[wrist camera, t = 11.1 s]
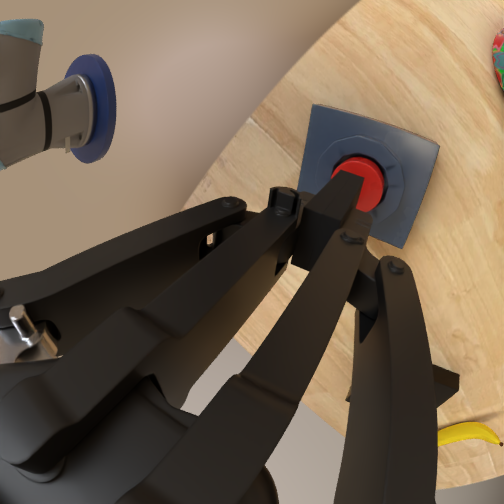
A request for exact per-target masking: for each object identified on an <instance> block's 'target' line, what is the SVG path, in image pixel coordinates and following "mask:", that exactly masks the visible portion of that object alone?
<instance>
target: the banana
mask: <svg viewBox="0 0 504 504" xmlns="http://www.w3.org/2000/svg"><path fill="white" fill-rule="evenodd" d="M473 438H474V439H482V440H485V441H487V442H490V443H493V444H499V445H500V446H503V443H502V442H500V440H499V437H498V436H497V435H496V433H495V432H494V431H493V430H492V429H490V428H489V427H488V426H486V425H484V424H482V423H478V422H464V423H459V424H456V425H452V426H449V427H447V428H444V429H442V430H439V431H438V447H439V446H442V445H445V444H449V443H453V442H457V441H461V440H466V439H473Z"/></svg>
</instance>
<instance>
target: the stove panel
mask: <svg viewBox="0 0 504 504" xmlns="http://www.w3.org/2000/svg"><path fill="white" fill-rule="evenodd" d="M432 368H433V375H434V384H435V394H436V407H439V406H440V405H441V404H443V403H444V402H445V401H447V400H448V399H449V398H450V397H452V396H453V395H454V394H455V393H456V392H458V391H459V376H460V375H459V374H456V373H453V372H451V371H448V370H446V369H443V368H441V367H438V366H435V365H433V364H432ZM350 397H351V387H350V389H349V392H348V395H347V397H346V400H345V401H347V402H350Z"/></svg>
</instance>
